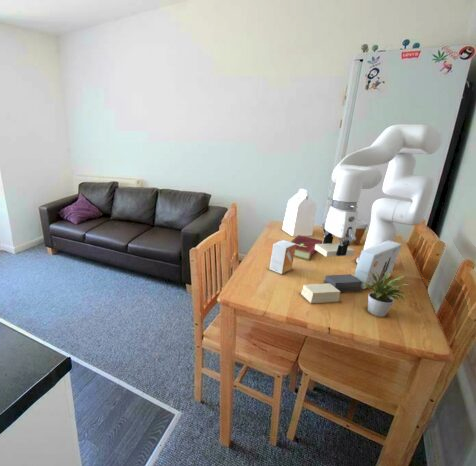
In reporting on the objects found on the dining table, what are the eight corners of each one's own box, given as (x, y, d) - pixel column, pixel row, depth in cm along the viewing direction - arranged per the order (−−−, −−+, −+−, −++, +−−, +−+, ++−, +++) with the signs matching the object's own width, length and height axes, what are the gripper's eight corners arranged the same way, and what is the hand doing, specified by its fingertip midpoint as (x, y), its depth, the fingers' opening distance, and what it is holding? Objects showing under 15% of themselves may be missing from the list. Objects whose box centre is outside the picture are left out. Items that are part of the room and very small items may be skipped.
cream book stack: (327, 292, 124) (330, 283, 122) (338, 301, 118) (341, 291, 116) (301, 294, 124) (302, 284, 122) (310, 303, 118) (312, 293, 116)
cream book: (339, 248, 118) (341, 242, 118) (353, 255, 112) (354, 250, 111) (314, 249, 118) (315, 244, 117) (326, 257, 111) (327, 251, 111)
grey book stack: (348, 283, 130) (350, 274, 128) (359, 291, 124) (362, 281, 122) (323, 284, 130) (325, 275, 128) (333, 292, 124) (335, 283, 122)
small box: (281, 274, 139) (286, 248, 134) (268, 269, 144) (272, 243, 139) (291, 269, 143) (296, 243, 138) (279, 264, 148) (283, 239, 143)
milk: (312, 235, 180) (320, 191, 170) (292, 236, 179) (300, 192, 170) (300, 228, 191) (307, 187, 182) (282, 229, 191) (288, 187, 181)
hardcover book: (321, 247, 164) (322, 239, 163) (309, 260, 151) (310, 252, 149) (297, 241, 172) (298, 234, 171) (283, 253, 159) (284, 246, 157)
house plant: (349, 316, 109) (360, 275, 104) (347, 297, 120) (357, 259, 114) (401, 329, 102) (416, 286, 96) (394, 307, 113) (407, 268, 107)
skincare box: (364, 290, 124) (375, 254, 119) (350, 284, 129) (359, 249, 123) (392, 277, 133) (402, 243, 128) (377, 272, 138) (387, 239, 132)
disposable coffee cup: (342, 238, 174) (346, 218, 170) (363, 241, 169) (368, 221, 165) (341, 244, 167) (346, 223, 163) (362, 247, 162) (368, 226, 158)
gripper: (374, 211, 100) (361, 260, 107) (337, 198, 117) (327, 241, 123) (352, 212, 100) (340, 261, 106) (318, 198, 116) (309, 242, 123)
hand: (333, 250), depth 115 cm, fingers closed on cream book, 7 cm apart
